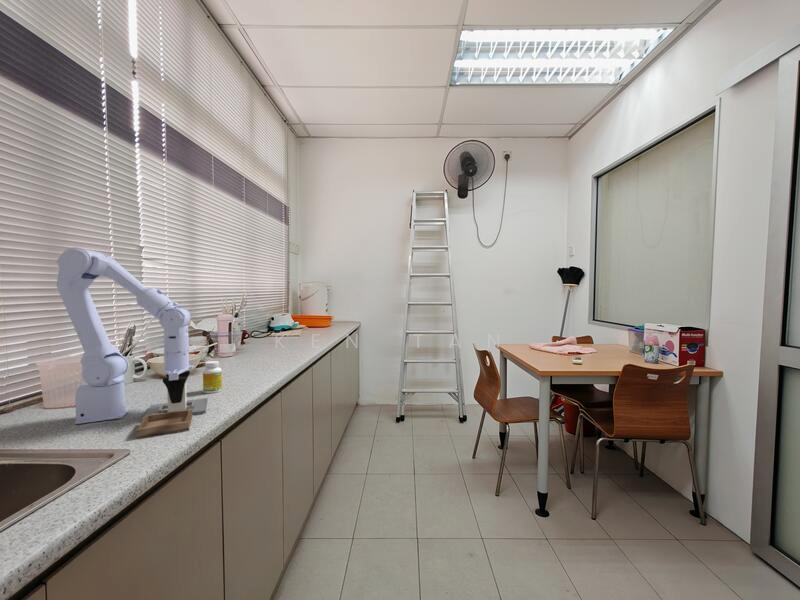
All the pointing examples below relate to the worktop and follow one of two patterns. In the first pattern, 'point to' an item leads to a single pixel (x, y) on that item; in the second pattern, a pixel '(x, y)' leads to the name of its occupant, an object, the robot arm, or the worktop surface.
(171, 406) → the block
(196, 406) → the frame
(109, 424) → the worktop surface
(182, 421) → the tray
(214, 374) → the supplement bottle
